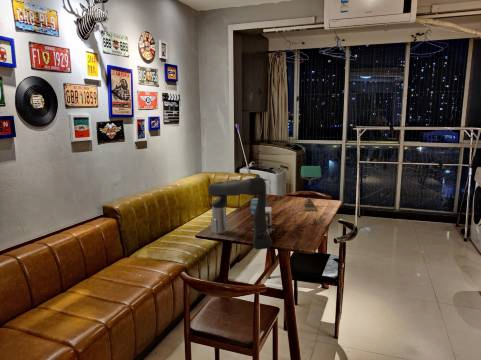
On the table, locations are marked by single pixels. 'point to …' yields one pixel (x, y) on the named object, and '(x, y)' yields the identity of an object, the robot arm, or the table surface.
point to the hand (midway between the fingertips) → (263, 224)
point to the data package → (254, 204)
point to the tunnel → (268, 210)
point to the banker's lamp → (310, 173)
